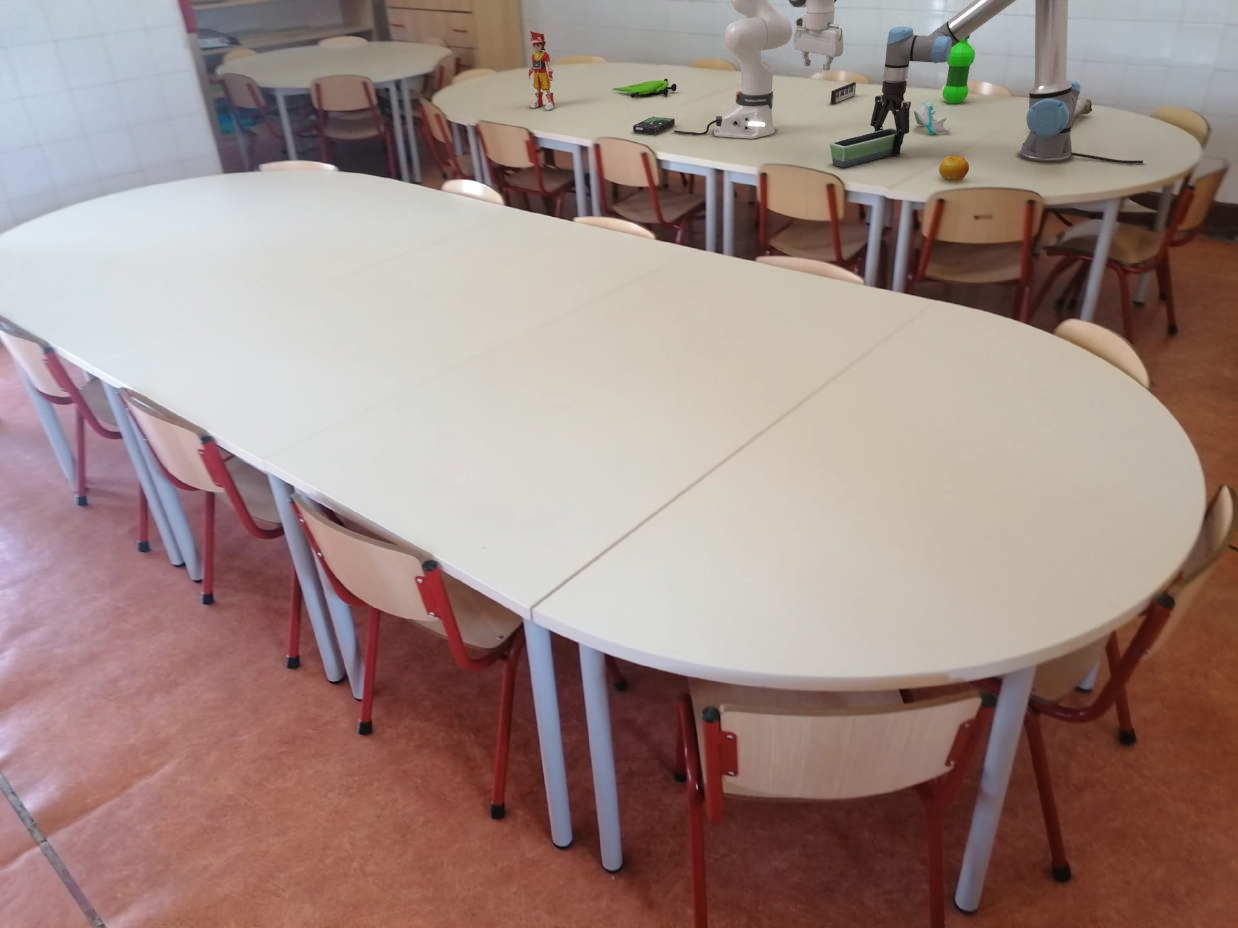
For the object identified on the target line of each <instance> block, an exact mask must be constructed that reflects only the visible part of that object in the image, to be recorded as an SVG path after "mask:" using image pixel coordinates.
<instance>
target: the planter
mask: <svg viewBox="0 0 1238 928" xmlns="http://www.w3.org/2000/svg"><path fill="white" fill-rule="evenodd" d="M895 134H897V131H896V128H892V127H889V128H883V130H880V131H876V132H875V131H872V132H868V133H863V134H860V135H856V136H852V137H847V138H844V139H840V140H836V141H833V142H830V143H829V146H830V147H829V148H830V155H831V163H832V165H834V166H837V167H840V168H843V169H844V168H847V167H853V166H856V165H860V164H863V163H867V162H871V161H875V160H878V159H882V158H886V157H889V156H893V155H892V154H893V146H894V138H895ZM905 135H906V134H904V136H903V139H904V138H905Z"/></svg>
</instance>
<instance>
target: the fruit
mask: <svg viewBox="0 0 1238 928" xmlns="http://www.w3.org/2000/svg"><path fill="white" fill-rule="evenodd" d="M969 171H970V164H969V162H968V160H967V159H966V158H965V157H964V156H961V155H957V154H955V155H949V156H947V157H945V158H943V159H942V160H941V162H940V164H939V167H938V173H939V176H940V177H941V178H942V179H944V180H945V181H949V182H959V181H960V180H963V179H964V178H965V177H966V176H967V175H968V173H969Z"/></svg>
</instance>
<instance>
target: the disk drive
mask: <svg viewBox="0 0 1238 928" xmlns="http://www.w3.org/2000/svg"><path fill="white" fill-rule="evenodd" d="M675 125H676V120H675V118H671V117H659V116H650V117H648V118H646V119H644V120H642V121H640V122H638V123H635V124H634V125H632V132H633V133H637V134H643V135H644V134H645V135H654V136H655V135H659V134H660V133H663V132H665V131H666V130H668V129H670V128H672V127H674V126H675Z"/></svg>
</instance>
